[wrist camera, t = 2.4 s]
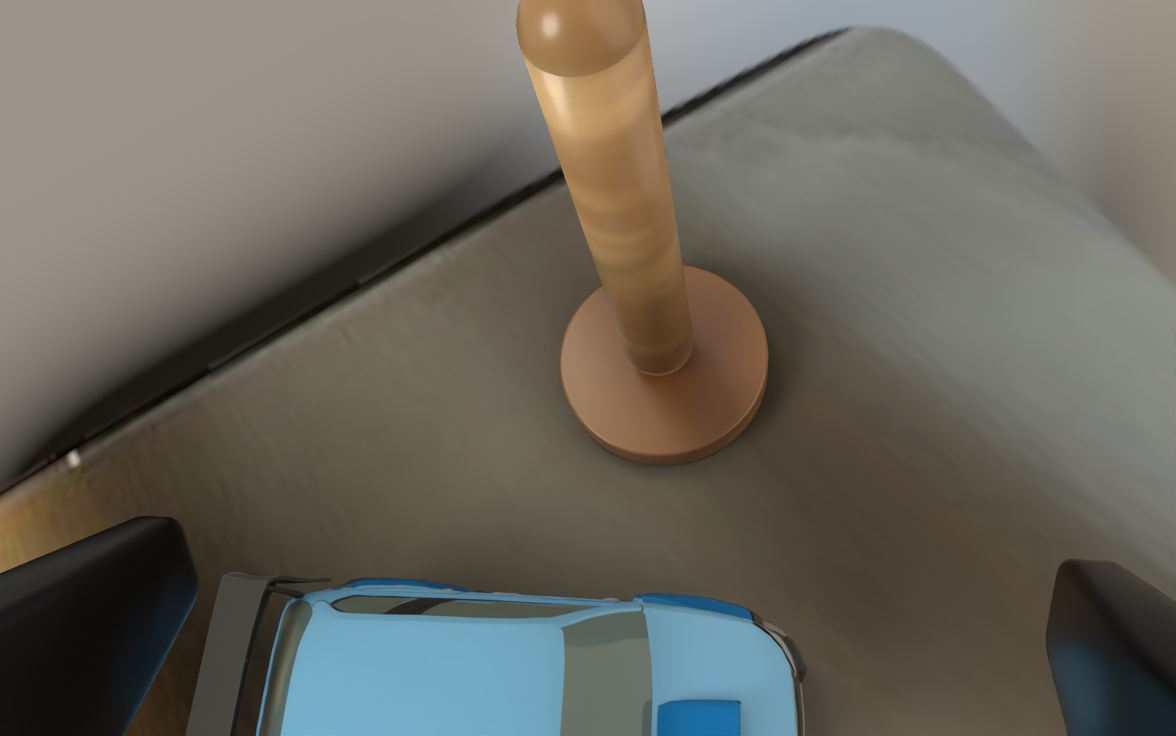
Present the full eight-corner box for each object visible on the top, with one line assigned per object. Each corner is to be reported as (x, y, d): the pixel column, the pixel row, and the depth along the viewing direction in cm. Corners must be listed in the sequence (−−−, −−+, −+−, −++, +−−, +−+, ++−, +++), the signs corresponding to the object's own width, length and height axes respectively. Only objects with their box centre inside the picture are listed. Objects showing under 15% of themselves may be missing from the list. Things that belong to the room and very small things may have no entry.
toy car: (807, 883, 19) (828, 949, 13) (299, 833, 21) (149, 871, 16) (799, 605, 21) (815, 568, 16) (340, 586, 23) (220, 548, 18)
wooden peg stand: (644, 508, 22) (507, 240, 10) (528, 356, 25) (295, -23, 12) (811, 382, 23) (888, -30, 10) (683, 244, 25) (615, -234, 12)
